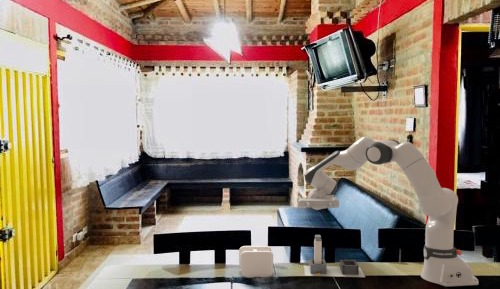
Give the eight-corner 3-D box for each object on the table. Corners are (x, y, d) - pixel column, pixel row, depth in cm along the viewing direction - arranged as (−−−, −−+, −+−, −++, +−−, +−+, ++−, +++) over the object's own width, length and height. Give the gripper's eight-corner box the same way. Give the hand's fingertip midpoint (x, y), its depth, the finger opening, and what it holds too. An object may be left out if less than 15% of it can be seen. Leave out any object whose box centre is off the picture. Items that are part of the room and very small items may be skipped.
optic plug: (320, 269, 188) (320, 234, 188) (321, 272, 184) (321, 237, 184) (314, 269, 188) (314, 234, 188) (314, 272, 184) (314, 236, 184)
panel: (359, 269, 191) (359, 258, 191) (365, 279, 178) (365, 268, 178) (303, 267, 193) (303, 257, 193) (305, 277, 180) (305, 266, 180)
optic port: (324, 267, 190) (324, 259, 190) (326, 274, 182) (326, 265, 182) (309, 267, 191) (309, 259, 190) (310, 273, 183) (310, 264, 182)
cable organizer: (239, 278, 180) (239, 252, 180) (239, 270, 191) (239, 245, 190) (273, 277, 181) (273, 251, 180) (271, 269, 191) (271, 244, 191)
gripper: (297, 194, 214) (298, 199, 200) (337, 194, 212) (340, 199, 198) (297, 206, 214) (298, 212, 200) (336, 207, 212) (340, 212, 198)
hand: (319, 205), depth 199 cm, fingers open, 8 cm apart
